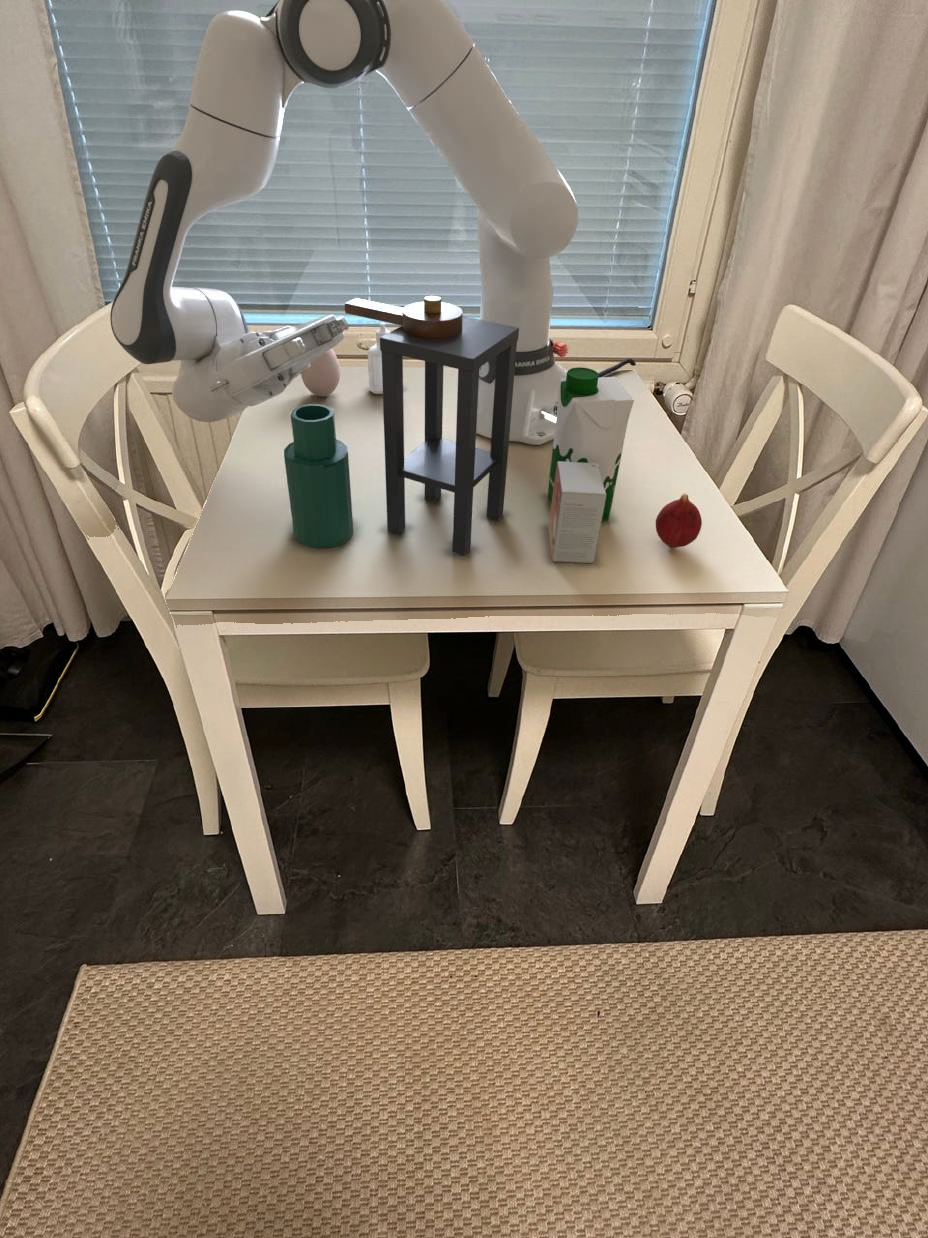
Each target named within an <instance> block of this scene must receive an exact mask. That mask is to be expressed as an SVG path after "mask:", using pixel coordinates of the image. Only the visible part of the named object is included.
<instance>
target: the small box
mask: <svg viewBox="0 0 928 1238" xmlns="http://www.w3.org/2000/svg"><path fill="white" fill-rule="evenodd" d="M605 500H606V492H605V489H604V485H603V480H602V476H601V471H600V464H598V463H580V462H560V461H558V462H557V467H556V475H555V482H554V489H553V496H552V504H551V503H550V512H549V517H548V518H549V520H548V527H547V529H548V535H549V546H550V553H551V555H550V556H551V562H560V563H561V562H562V563H564V562H565V563H581V564H594V562H595V558H596V552H597V547H598V541H599V536H600V531H601V526H602V521H603V520H602V516H603V510H604V505H605Z"/></svg>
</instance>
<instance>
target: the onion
mask: <svg viewBox="0 0 928 1238" xmlns="http://www.w3.org/2000/svg"><path fill="white" fill-rule="evenodd" d="M702 525H703V520H702V516H701V513H700V510H699V508H698V507H697V506H696V505H695V504H694V503H693V502H692V501H691V500H690V499H689V494H687V493H685V492H683V493H682V494H681V496H680V497H679V499H675V500H673V501H671V502H669V503H667V504H665V505H664V506H663V507H662V508H661V509H660V510H659V512H658V514H657V516H656V519H655V531H656V534H657V536H658V538H659V539H660V540H661V542H662V543H664V545H666V546H667V547H669V548H671V549H675V548H684V547H686V546H688V545H690V544H691V543H693V542H694V541H695V540H697V538H698V537H699V534H700V532H701V529H702Z"/></svg>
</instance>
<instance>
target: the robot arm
mask: <svg viewBox="0 0 928 1238" xmlns="http://www.w3.org/2000/svg"><path fill="white" fill-rule="evenodd" d="M374 72H376V73H378V74H379V75H381V77H383V78H384V79H385V80H386V82H387V83H388V84H389V85H390V86H391V87H392V89H393V90H394V92H395V93H396V94H397V96H398V97H399V98H400V100H401V102H402V103H403V105H404V106H405V107H406V109H407V111H408V112H409V113H410V114H411V116H412V118H413V119H414V121H415V122H416V124H417V125H418V126H419V128H420V129H421V130H422V132H423V133H424V135H425V136H426V137H427V139H428V140H429V142H430V143H431V144H432V146H433V148H434V149H435V150H436V152H437V153H438V154H439V156H440V157H441V159H442V160H443V162H444V164H445V165H447V167H448V169H449V170H450V171H451V172H452V174H453V175H454V176H455V178H456V179H457V180H458V182H459V183H460V184H461V185H462V187H463V188H464V190H465V192H467V194H468V195H469V197H470V198H471V199H472V200H473V202H474V203H475V205H476V206H477V234H478V237H477V238H478V253H479V255H478V256H479V267H480V269H479V271H480V310H479V320H484V321H488V322H493V323H498V324H503V325H507V326H512V327H517V328H519V335H518V341H517V348H516V360H515V373H514V385H513V398H512V410H511V422H510V435H509V442H519V443H523V444H527V445H531V446H539V445H544V444H546V443H547V442H550V441H552V440H554V434H555V426H556V417H557V405H558V390H559V379H560V378H566V376H567V371H568V370H566V369H565V368H564V367H562V366H561V365H560V364H559V363H557V362H556V359H555V355H557V356H558V357H560V358H564V357H566V356H567V354H568V352H569V346H568V345H567V344H566V343H562V341H558V340H557V341H556V342H554V340H552V339H550V329H551V328H550V327H551V319H552V318H551V317H552V311H553V310H552V308H553V299H554V285H553V281H552V272H551V262H550V261H551V259H550V258H553V257H555V256H557V255H559V254H560V253H562V251H564V250H565V249H566V248H567V247H568V246H569V244H570V243H571V241H572V240H573V238H574V237H575V234H576V231H577V228H578V223H579V209H578V204H577V201H576V199H575V196H574V194H573V191H572V190H571V187H570V186H569V184H568V183H567V181H566V179H565V178H564V176H563V175H562V173H561V172H560V170H559V169H558V167H557V166H556V164H555V163H554V162H553V160H552V158H551V157H550V156H549V154H548V153H547V151H546V150H545V148H544V147H543V146H542V144H541V143H540V141H539V140H538V139H537V137H536V136H535V134H534V133H533V130H531V128H530V127H529V125H528V124H527V123H526V122H525V120H524V119H523V118H522V116H521V114H520V113H519V112H518V111H517V109H516V107H514V105H513V104H512V102H511V100H510V99H509V98H508V96H507V95H506V93H505V91H504V90H503V87H501V84H500V83H499V81H498V80H497V78H496V76H495V75H494V73H493V72H492V70H491V68H490V66H489V65H488V64H487V62H486V60H485V59H484V57H483V55H482V54H481V52H480V50H479V49H478V47H477V46H476V44H475V42H474V40H473V39H472V37H471V36H470V35H469V33H468V31H467V30H466V28H465V27H464V25H463V24H462V23H461V21H460V20H459V18H458V17H457V15H456V14H455V13H454V12H453V10H452V8H451V7H450V6H449V5H448V3H447V2H446V1H445V0H278V1H277V2H276V3H275V4H274V6H273V7H272V8H271V9H270V10H269V12H268V13H267V14H266V15H265V16H260V15H259V16H258V15H256V14H253V13H251V12H248V11H243V10H239V9H238V10H237V9H231V10H230V9H229V10H224V11H221V12H219V13H217V14H216V15H214V16H213V17H212V18H211V20H210V22H209V24H208V26H207V29H206V32H205V35H204V38H203V41H202V44H201V48H200V51H199V55H198V58H197V63H196V66H195V71H194V76H193V81H192V87H191V92H190V99H189V107H188V111H187V112H188V113H187V116H186V120H185V124H184V126H183V128H182V131H181V133H180V136H179V137H178V140H177V142H176V143H175V144H174V146H173V147H172V148H171V150H170V151H169V152H167V153H166V154H165V155H163V156H162V157H160V159H159V160H158V162H157V164H156V166H155V168H154V171H153V173H152V176H151V179H150V182H149V185H148V188H147V192H146V196H145V199H144V203H143V206H142V211H141V214H140V218H139V222H138V225H137V229H136V233H135V236H134V237H135V238H134V241H133V245H132V249H131V251H130V257H129V260H128V264H127V268H126V270H125V274H124V277H123V279H122V282H121V284H120V286H119V287H118V290H117V292H116V294H115V297H114V298H113V301H112V304H111V307H110V315H109V317H110V328H111V331H112V334H113V336H114V338H115V340H116V341H117V342H118V344H119V345H120V347H121V348H122V349H123V350H124V351H125V352H126V353H127V354H128V355H130V357H132V358H133V359H135V360H136V361H138V362H139V363H141V364H144V365H155V364H162V363H169V362H172V361H173V362H174V361H175V362H177V361H180V366H179V371H178V374H177V376H176V378H175V380H174V381H173V383H172V386H171V395H172V399H173V401H174V403H175V405H176V406H177V408H178V409H179V410H180V411H181V413H183V414H184V415H186V416H187V417H189V418H191V419H192V420H195V421H197V422H202V423H213V422H220V421H223V420H226V419H228V418H231V417H234V416H236V415H238V414H241V413H242V412H243V411H245V410H246V409H247V408H248V407H254V406H257V405H259V404H261V403H264V402H267V401H268V400H270V399H273V398H275V397H277V396H279V395H280V394H282V393H283V392H284V391H285V390H286V388H287V387H288V386H289V385H291V383H292V381H293V380H295V378H297V377H298V376H300V375H301V373H302V372H304V371H305V370H306V369H308V368H309V367H310V363H311V362H312V361H314V360H315V359H317V358H318V357H320V356H321V355H323V354H324V353H325V352H327V351H328V350H330V349H331V348H332V349H334V347H336V346H337V345H339V344H340V343H341V342H342V341H343V340H344V339H345V333H344V332H346V331H348V330H349V328H350V327H349V326H350V325H349V324H348V320H346V318H345V316H343V315H342V316H339V317H338V318H337V317H336V315H334V314H328V315H324V316H321V317H319V318H315V319H312V320H309V321H307V322H304V323H300V324H298V325H295V326H293V327H292V326H291V325H286V326H281V327H279V328H275V329H272V330H267V331H266V330H265V331H258V332H256V331H249V327H248V324H247V321H246V318H245V315H244V313H243V311H242V309H241V307H240V306H239V304H238V302H237V301H236V300H235V298H234V297H232V295H231V294H229V293H228V292H226V291H225V290H223V289H219V288H208V287H194V286H191V287H182V286H173V283H174V280H175V276H176V274H177V273H176V272H177V269H178V266H179V262H180V258H181V255H182V252H183V248H184V245H185V242H186V238H187V235H188V233H189V232H190V229H191V228H192V227H193V225H194V224H195V223H196V222H198V221H199V220H201V218H203V217H204V216H206V215H207V214H209V213H211V212H214V211H216V210H219V209H221V208H224V207H227V206H230V205H234V204H240V203H242V202H244V201H246V200H250V199H251V198H252V197H254V196H256V195H257V194H258V193H259V192H261V191H262V190H263V189H264V188H265V187H266V186H267V184H268V183H269V181H270V178H271V176H272V174H273V172H274V168H275V165H276V161H277V156H278V150H279V146H280V141H281V140H280V139H281V134H282V129H283V123H284V118H285V112H286V108H287V105H288V103H289V100H290V97H291V95H292V94H293V92H294V91H295V90H296V89H297V88H298V87H299V86H301V85H303V84H304V83H307V84H312V85H314V86H318V87H320V88H324V89H341V88H344V87H347V86H350V85H352V84H354V83H356V82H357V81H359V80H361V79H363V78H364V77H366V76H368V75H370V74H373V73H374ZM554 354H555V355H554ZM496 358H497V356H495V357H494V358H492V359H491V360H490V361H488V362H487V363H485V364H484V365H482V366H481V367H480V368H479V386H478V407H477V427H476V435H477V434H478V435H480V436H482V437H485V438H488V439H491V436H492V420H493V405H494V389H495V373H496ZM628 364H630V366H632V367H633V366H635V367H636V366H637V363H636V361H635V360H634V359H632V358H625V359H623V360H621V361H620V362H618V363H617V364H615V365H613V366H610V367H608V368H606V369H603V370H602V371H600V372H597V373H598V375H599V376H598V377H606V375H608V374H611V373H613V372H616V371H618V370H620V369H621V368H622V367H625V365H628Z"/></svg>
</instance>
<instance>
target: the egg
mask: <svg viewBox="0 0 928 1238" xmlns="http://www.w3.org/2000/svg"><path fill="white" fill-rule="evenodd" d="M300 376H301V379H302V383H303V384H304V386H305V387H306V389H307V390H308V391H309V392H310V393H311V394H312V395H314V396H317V397H321V398H324V397H327V396H330V395H331V394H333V393H334V392H335V391H336V389H337V387H338V385H339V382H340V379H341V368H340V363H339V360H338V357H337V355H336V353H335V351H334V350H333V348H331V349H330V350H328V351H327V352H325V353H324V354H323V355H321V356H320V357H318V358H317V359H315V360H314V361H312V362H311V363H310V367H309V368H308V369H306V370H305V371H304V372H302V373H301V374H300Z"/></svg>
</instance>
